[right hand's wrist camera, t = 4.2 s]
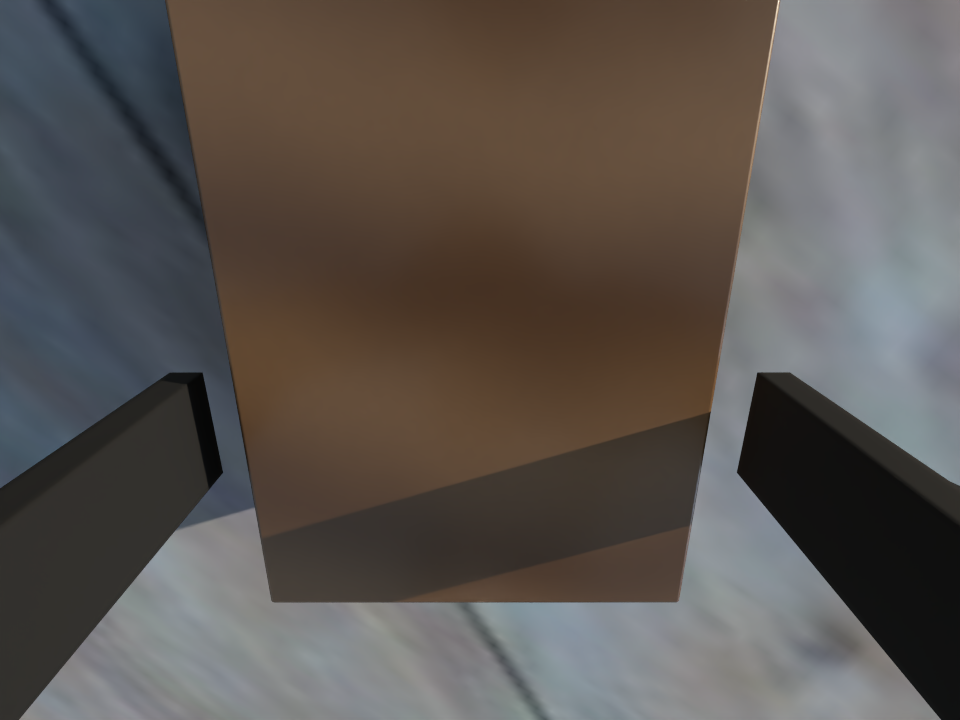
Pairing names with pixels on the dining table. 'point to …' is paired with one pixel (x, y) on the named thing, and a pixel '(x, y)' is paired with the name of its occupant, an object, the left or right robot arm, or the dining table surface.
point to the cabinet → (473, 280)
